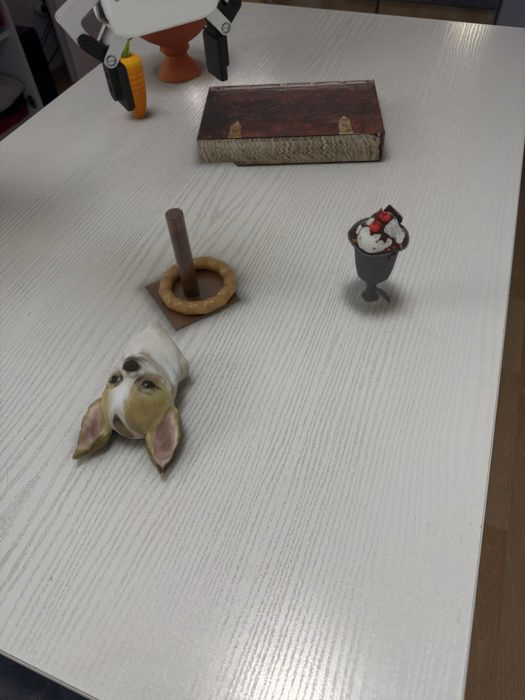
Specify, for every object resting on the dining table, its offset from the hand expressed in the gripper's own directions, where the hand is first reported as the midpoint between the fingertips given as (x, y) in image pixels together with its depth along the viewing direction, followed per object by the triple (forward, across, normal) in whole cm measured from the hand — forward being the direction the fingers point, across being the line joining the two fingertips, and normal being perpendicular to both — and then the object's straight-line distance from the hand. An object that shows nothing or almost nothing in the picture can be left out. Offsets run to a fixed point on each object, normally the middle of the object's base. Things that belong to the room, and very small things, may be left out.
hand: (173, 90), depth 52 cm
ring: (+23, +2, +2) cm, 23 cm away
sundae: (+25, -15, +15) cm, 33 cm away
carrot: (+26, -10, -45) cm, 53 cm away
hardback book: (+25, -29, -24) cm, 45 cm away
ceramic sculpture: (+25, +15, +15) cm, 33 cm away
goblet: (+26, -24, -58) cm, 68 cm away
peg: (+25, +3, +2) cm, 25 cm away
